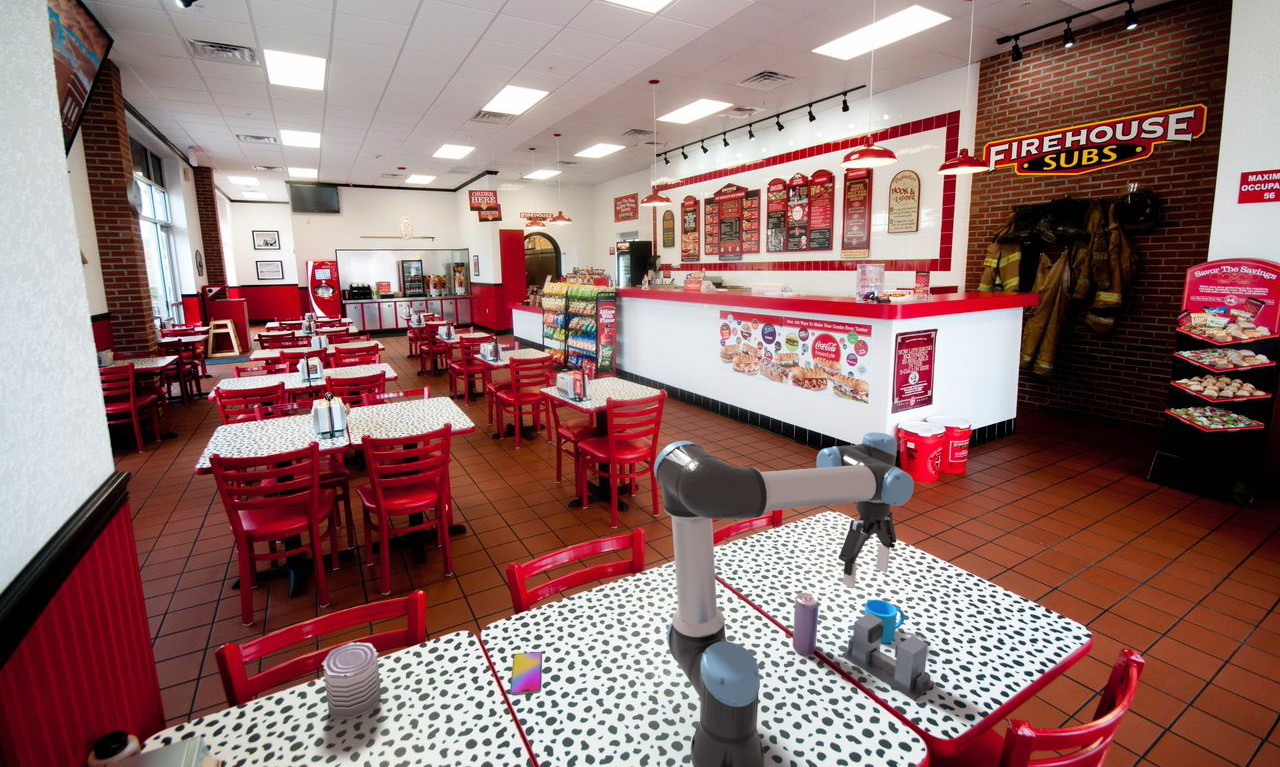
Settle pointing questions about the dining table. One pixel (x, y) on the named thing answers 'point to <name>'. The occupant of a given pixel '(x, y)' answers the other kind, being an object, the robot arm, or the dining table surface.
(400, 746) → the dining table surface
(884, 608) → the mug
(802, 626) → the beverage can
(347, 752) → the dining table surface
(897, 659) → the stepped metal block
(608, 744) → the dining table surface
